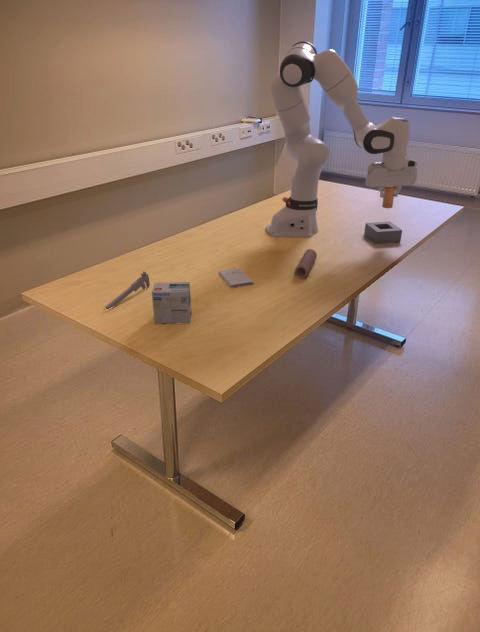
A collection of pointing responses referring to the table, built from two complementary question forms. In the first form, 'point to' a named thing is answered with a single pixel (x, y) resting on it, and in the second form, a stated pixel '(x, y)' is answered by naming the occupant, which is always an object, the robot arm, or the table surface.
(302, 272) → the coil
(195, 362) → the table surface
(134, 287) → the caliper
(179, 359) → the table surface
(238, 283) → the external hard drive
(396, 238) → the socket holder
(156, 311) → the light bulb box
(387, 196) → the peg
